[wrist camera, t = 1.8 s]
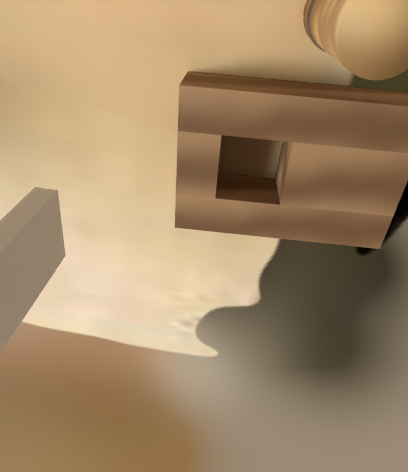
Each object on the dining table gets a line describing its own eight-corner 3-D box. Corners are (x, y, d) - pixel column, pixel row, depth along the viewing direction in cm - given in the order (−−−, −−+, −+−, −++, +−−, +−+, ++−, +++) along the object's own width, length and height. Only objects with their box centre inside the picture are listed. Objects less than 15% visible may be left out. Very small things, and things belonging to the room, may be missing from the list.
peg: (303, -26, 27) (351, -33, 15) (362, -21, 26) (457, -25, 15) (291, 40, 29) (325, 77, 17) (346, 45, 29) (416, 86, 17)
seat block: (187, 71, 31) (179, 85, 27) (410, 92, 30) (436, 109, 26) (182, 200, 37) (174, 227, 33) (364, 219, 37) (379, 248, 33)
